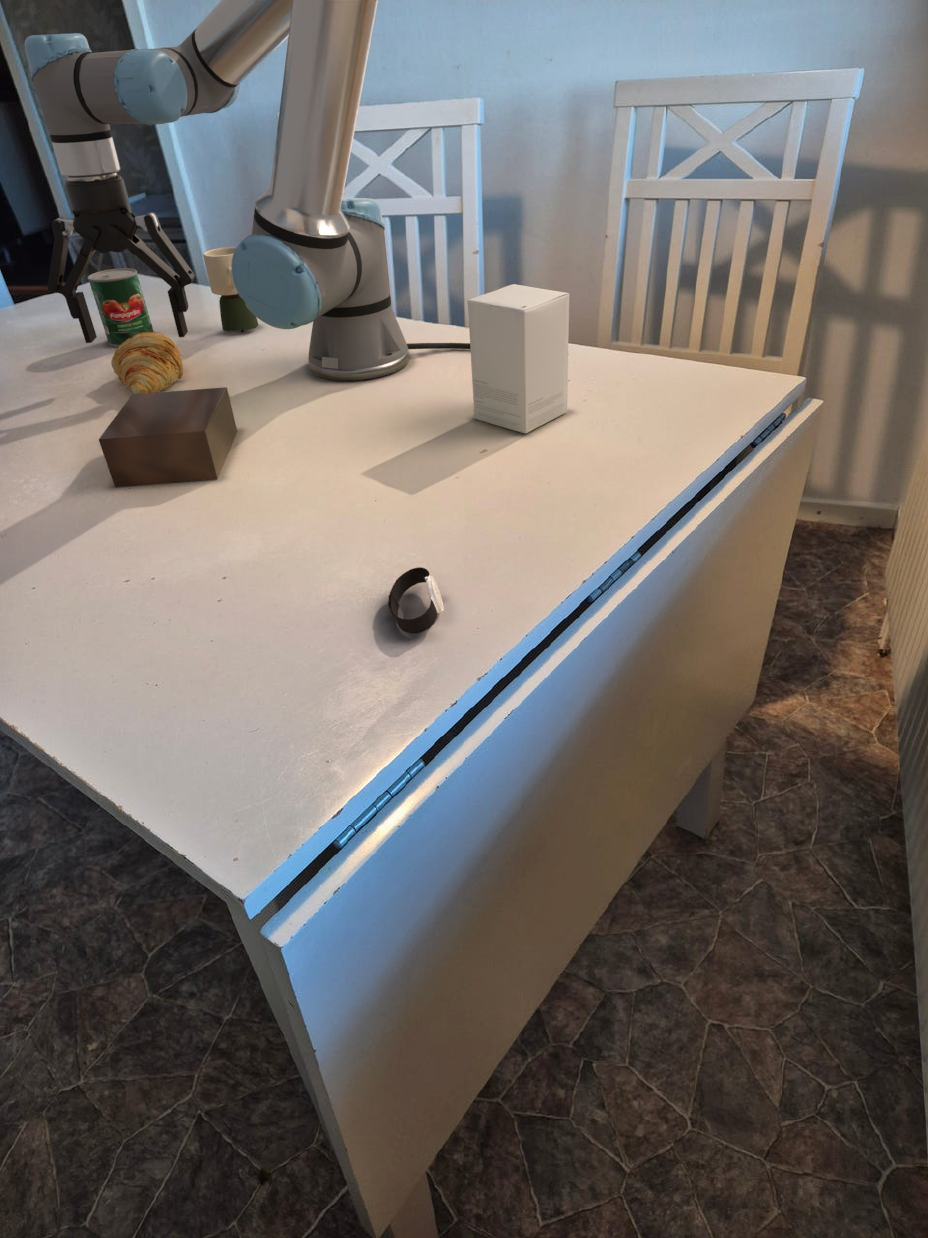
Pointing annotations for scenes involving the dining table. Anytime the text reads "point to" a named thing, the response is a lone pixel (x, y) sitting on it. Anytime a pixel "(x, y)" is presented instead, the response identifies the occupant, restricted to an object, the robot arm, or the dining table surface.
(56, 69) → the robot arm
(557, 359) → the white product box
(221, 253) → the character mug
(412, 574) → the watch
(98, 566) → the dining table surface
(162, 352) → the croissant
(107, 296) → the canned tomato
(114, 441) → the walnut block
